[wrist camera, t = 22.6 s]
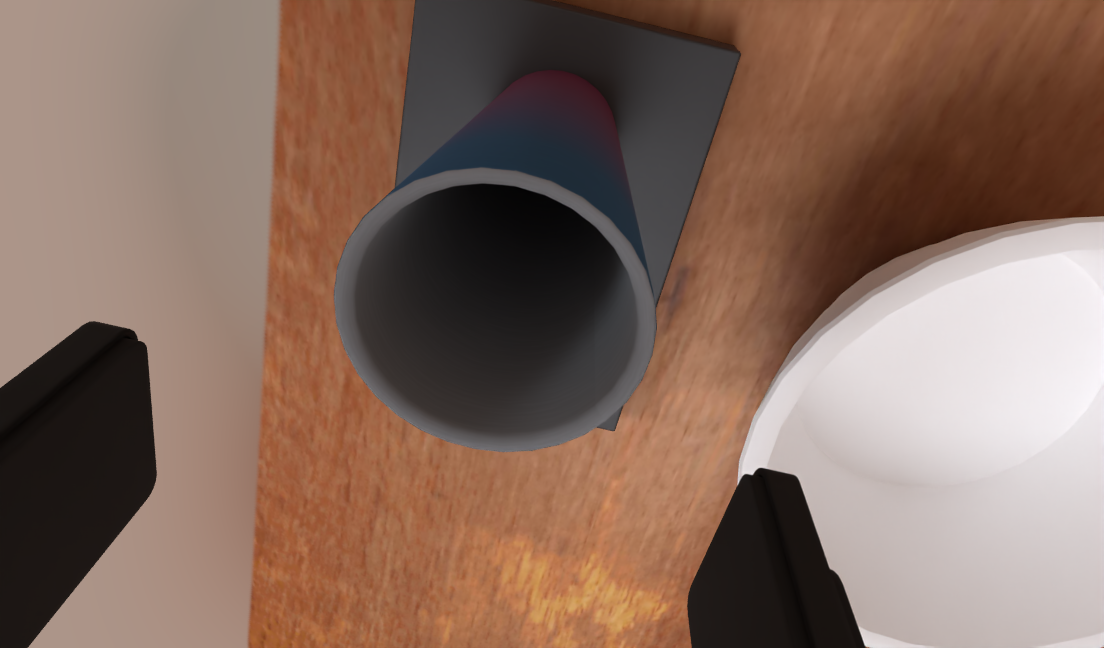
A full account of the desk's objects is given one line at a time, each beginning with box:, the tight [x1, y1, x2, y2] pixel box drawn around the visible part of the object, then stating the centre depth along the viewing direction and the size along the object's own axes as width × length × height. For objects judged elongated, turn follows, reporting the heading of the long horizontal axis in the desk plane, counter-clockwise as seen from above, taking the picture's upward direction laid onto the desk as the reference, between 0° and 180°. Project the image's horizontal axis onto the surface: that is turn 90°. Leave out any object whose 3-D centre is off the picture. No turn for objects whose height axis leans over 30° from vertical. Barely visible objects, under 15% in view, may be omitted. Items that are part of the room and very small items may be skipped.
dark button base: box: [395, 0, 741, 431], centre depth 30 cm, size 18×12×4 cm, turn 168°
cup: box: [334, 70, 657, 452], centre depth 21 cm, size 7×7×15 cm
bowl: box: [737, 216, 1104, 648], centre depth 30 cm, size 21×21×8 cm
